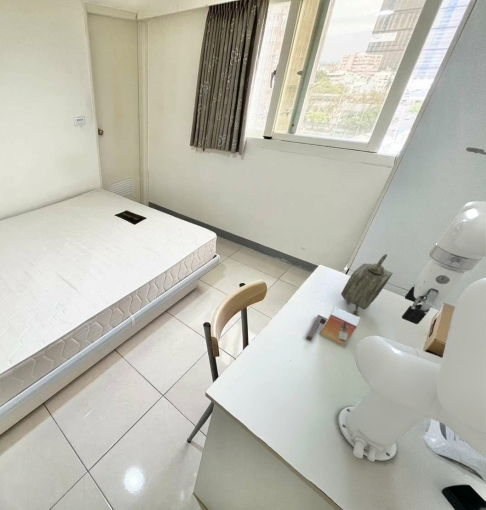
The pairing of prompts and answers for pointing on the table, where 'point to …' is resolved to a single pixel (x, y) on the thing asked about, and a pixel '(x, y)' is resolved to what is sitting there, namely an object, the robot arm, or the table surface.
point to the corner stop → (315, 325)
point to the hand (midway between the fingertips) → (410, 310)
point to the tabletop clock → (366, 284)
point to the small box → (340, 326)
